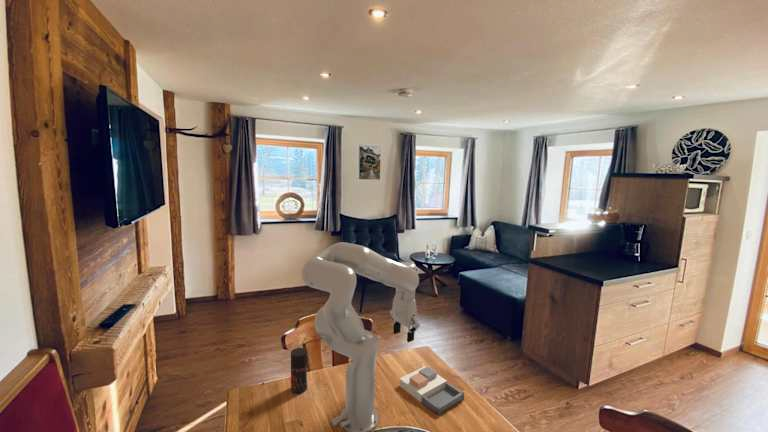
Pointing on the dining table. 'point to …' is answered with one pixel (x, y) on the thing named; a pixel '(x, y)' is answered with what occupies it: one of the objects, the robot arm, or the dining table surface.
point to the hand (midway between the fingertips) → (403, 336)
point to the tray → (443, 399)
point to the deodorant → (298, 370)
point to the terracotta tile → (418, 380)
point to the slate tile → (428, 373)
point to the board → (427, 390)
